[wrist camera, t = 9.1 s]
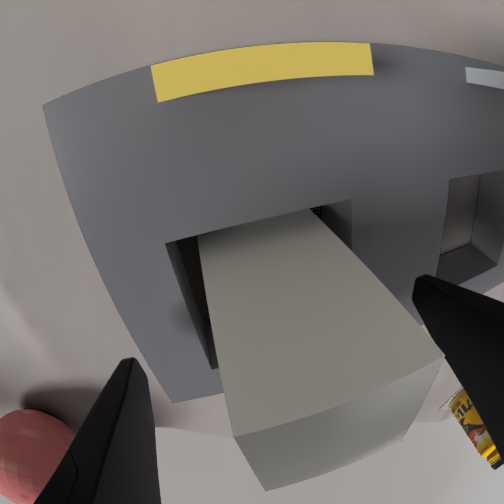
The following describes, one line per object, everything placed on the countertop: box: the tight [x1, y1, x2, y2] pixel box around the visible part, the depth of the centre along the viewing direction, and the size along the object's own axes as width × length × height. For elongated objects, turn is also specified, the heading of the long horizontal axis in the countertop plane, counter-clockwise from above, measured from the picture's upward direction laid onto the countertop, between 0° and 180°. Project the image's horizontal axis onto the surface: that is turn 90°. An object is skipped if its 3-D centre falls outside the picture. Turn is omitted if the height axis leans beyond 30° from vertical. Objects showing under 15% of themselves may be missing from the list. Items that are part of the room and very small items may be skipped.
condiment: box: [440, 387, 503, 470], centre depth 23 cm, size 7×8×12 cm
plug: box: [197, 208, 445, 491], centre depth 9 cm, size 4×4×8 cm
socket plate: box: [42, 42, 504, 403], centre depth 10 cm, size 20×12×6 cm, turn 99°
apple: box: [0, 409, 75, 504], centre depth 11 cm, size 7×7×8 cm
